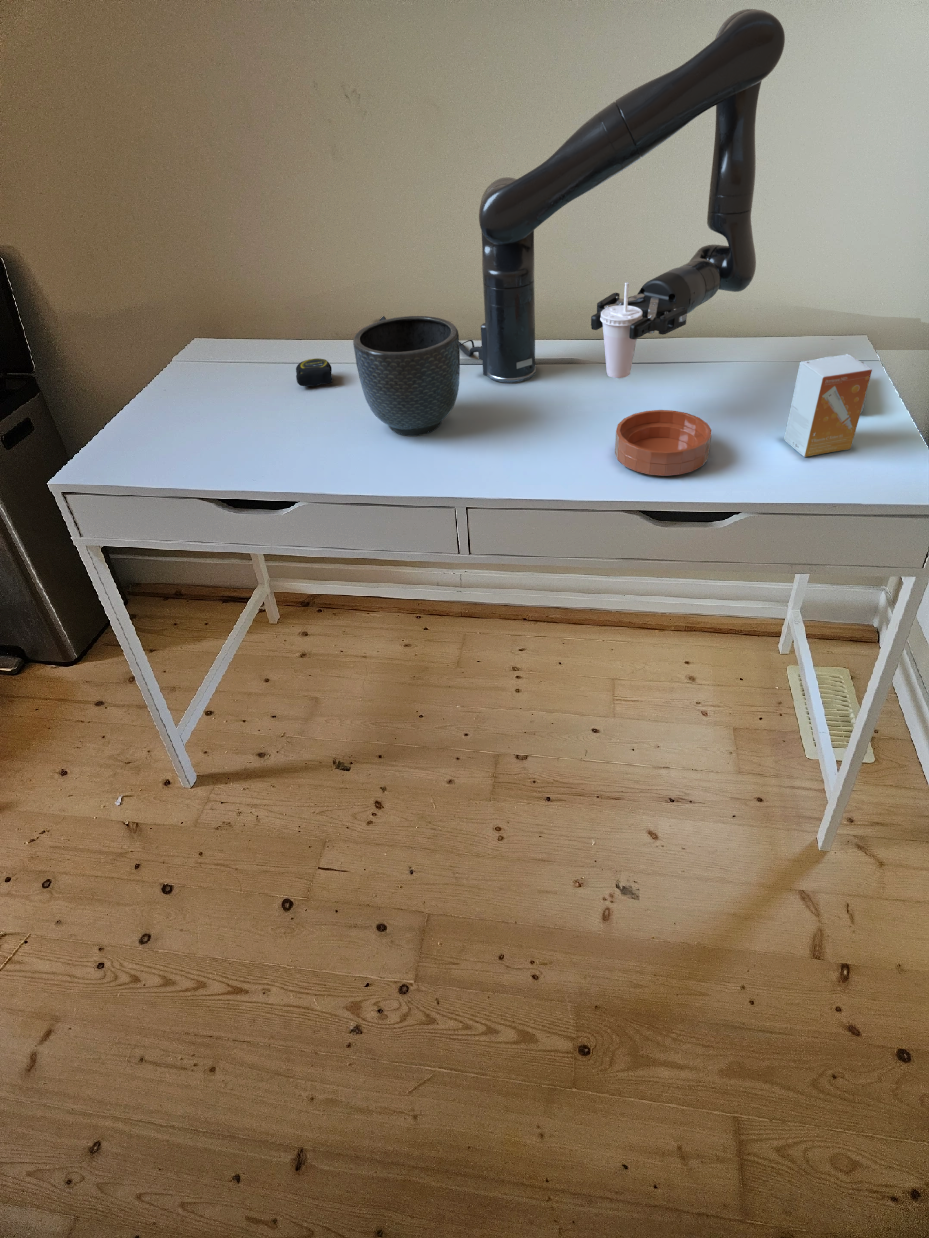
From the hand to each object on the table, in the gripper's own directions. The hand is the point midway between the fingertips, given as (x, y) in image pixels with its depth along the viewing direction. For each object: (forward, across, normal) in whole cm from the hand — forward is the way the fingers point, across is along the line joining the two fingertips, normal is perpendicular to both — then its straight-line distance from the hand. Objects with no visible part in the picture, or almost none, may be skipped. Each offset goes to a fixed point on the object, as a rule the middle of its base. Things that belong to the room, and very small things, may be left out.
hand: (612, 328), depth 123 cm
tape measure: (+15, -58, +18) cm, 62 cm away
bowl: (+1, +11, +18) cm, 21 cm away
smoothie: (-2, 0, +8) cm, 9 cm away
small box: (-16, +28, +18) cm, 37 cm away
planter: (+16, -29, +18) cm, 38 cm away
